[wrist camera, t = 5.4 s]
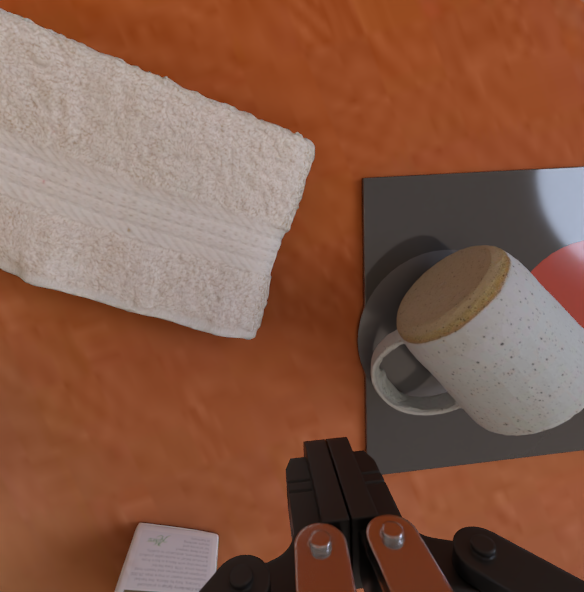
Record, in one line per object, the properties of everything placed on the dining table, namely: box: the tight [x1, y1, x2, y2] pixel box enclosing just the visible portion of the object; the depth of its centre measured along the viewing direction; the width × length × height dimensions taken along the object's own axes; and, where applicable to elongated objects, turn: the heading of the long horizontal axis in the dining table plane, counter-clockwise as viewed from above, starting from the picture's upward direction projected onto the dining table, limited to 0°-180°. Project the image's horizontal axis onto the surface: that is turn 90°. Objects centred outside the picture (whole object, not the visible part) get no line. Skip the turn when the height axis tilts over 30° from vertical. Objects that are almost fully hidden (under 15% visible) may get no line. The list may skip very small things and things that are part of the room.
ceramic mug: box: [371, 245, 584, 436], centre depth 22 cm, size 11×8×8 cm
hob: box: [358, 167, 584, 475], centre depth 26 cm, size 21×20×1 cm
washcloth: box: [0, 8, 315, 340], centre depth 20 cm, size 12×18×3 cm, turn 71°
